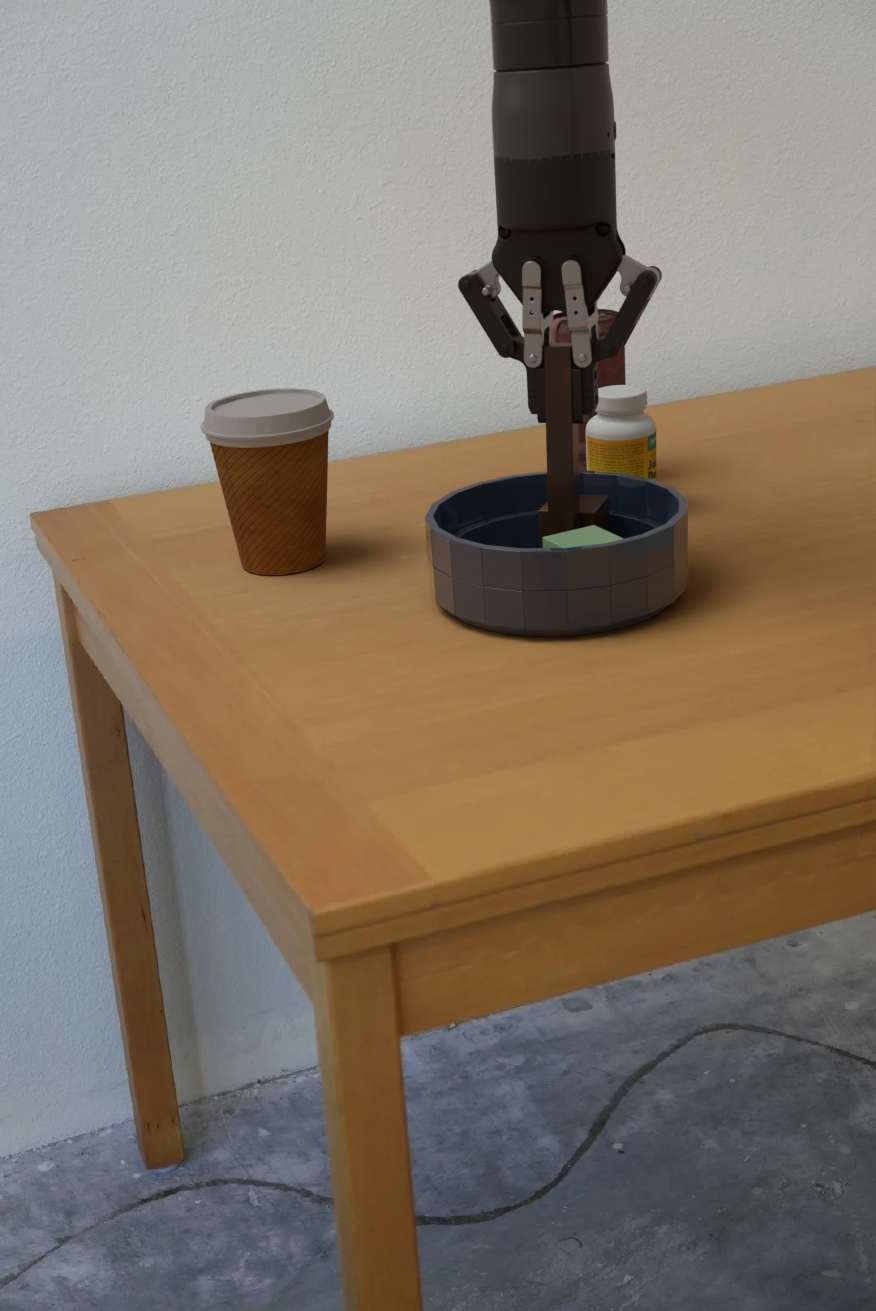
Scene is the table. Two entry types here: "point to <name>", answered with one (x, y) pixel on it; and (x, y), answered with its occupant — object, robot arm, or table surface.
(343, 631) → the table surface
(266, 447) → the disposable coffee cup
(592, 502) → the walnut block
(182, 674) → the table surface
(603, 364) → the can
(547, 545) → the green block
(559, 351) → the stick
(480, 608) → the bowl
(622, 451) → the supplement bottle
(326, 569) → the table surface
